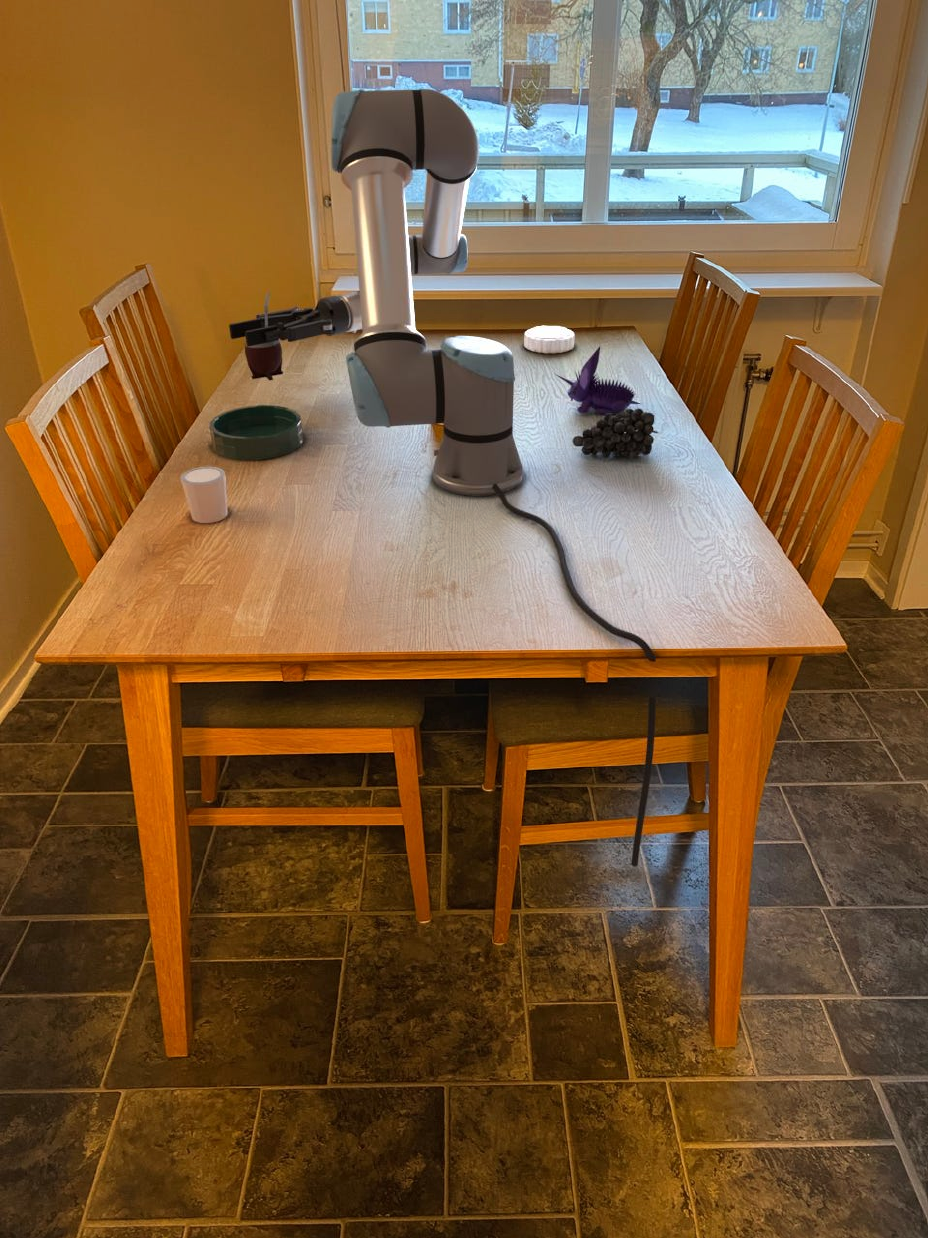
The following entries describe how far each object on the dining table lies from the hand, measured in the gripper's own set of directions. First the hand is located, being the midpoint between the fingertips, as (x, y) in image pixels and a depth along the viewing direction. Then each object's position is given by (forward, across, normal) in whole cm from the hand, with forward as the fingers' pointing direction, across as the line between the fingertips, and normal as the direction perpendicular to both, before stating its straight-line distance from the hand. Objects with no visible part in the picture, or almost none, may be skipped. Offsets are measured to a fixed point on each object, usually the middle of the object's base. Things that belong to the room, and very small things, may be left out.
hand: (238, 335), depth 178 cm
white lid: (-77, -6, -16) cm, 78 cm away
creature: (-55, -43, -16) cm, 71 cm away
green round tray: (+6, -14, -16) cm, 22 cm away
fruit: (-41, -61, -16) cm, 75 cm away
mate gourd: (-5, 0, -9) cm, 11 cm away
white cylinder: (+27, -36, -16) cm, 48 cm away
